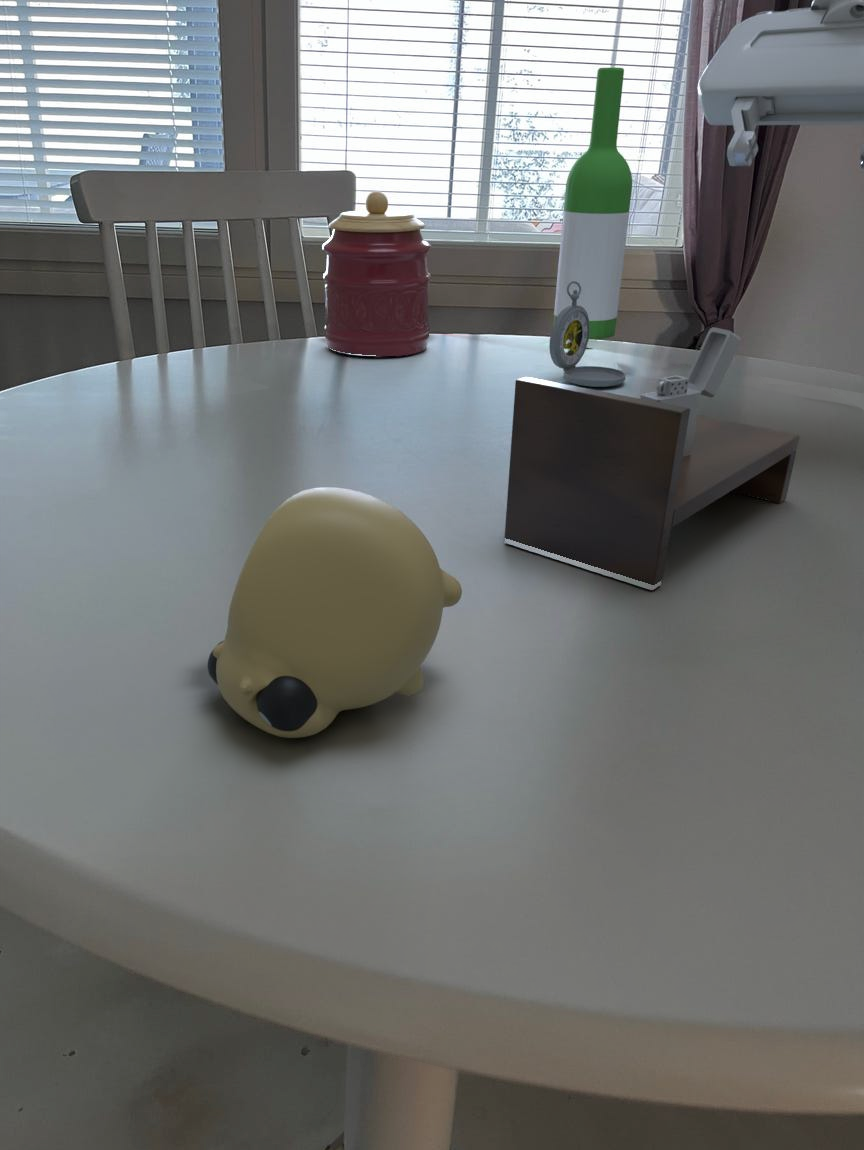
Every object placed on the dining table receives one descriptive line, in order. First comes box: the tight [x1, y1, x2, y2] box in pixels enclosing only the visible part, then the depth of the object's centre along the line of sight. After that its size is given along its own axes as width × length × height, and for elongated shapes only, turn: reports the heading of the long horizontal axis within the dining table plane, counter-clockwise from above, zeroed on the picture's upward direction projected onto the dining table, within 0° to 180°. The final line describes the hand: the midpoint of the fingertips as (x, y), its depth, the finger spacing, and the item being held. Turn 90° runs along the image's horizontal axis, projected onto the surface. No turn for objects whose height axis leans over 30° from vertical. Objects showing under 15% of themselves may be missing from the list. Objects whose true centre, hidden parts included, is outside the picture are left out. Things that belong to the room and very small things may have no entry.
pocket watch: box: [549, 281, 627, 388], centre depth 100 cm, size 8×8×10 cm
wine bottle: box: [552, 67, 633, 350], centre depth 111 cm, size 8×8×30 cm
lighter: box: [639, 326, 742, 457], centre depth 62 cm, size 7×2×8 cm, turn 122°
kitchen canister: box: [321, 190, 432, 357], centre depth 112 cm, size 13×13×18 cm
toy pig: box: [207, 486, 463, 739], centre depth 44 cm, size 10×12×11 cm
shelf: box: [504, 376, 801, 585], centre depth 64 cm, size 11×21×11 cm, turn 138°
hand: (801, 161), depth 67 cm, fingers open, 8 cm apart
